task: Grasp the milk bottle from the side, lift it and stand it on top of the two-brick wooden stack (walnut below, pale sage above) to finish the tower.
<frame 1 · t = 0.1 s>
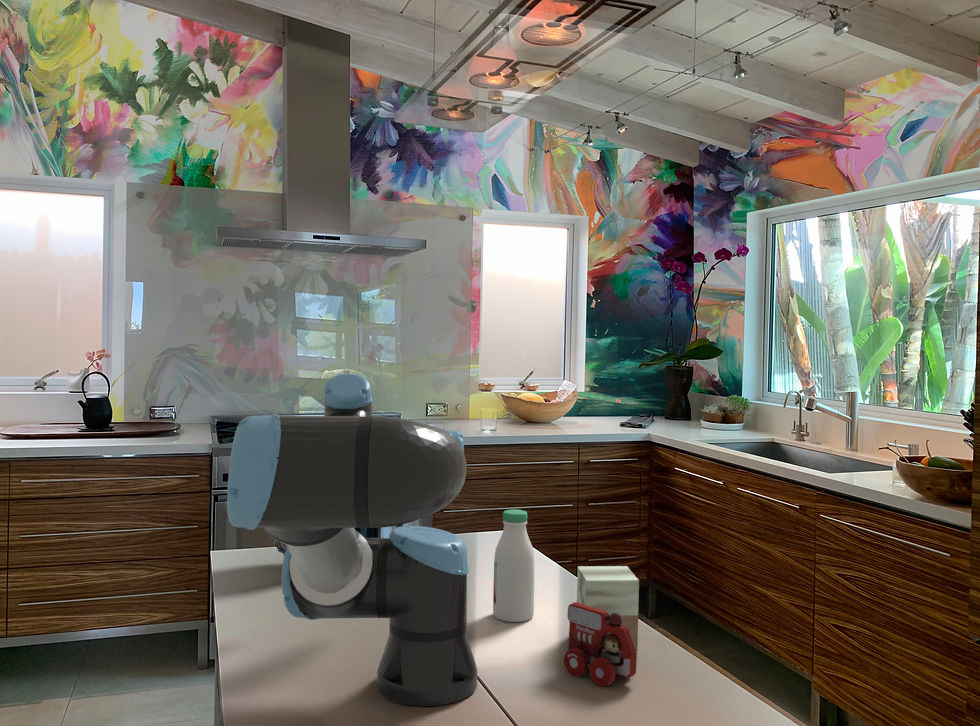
hand: (357, 537, 151), 15 cm above the table, tool tilted 35°, fingers open, 13 cm apart
tower stack: (605, 641, 143), on the table
milk bottle: (513, 617, 155), on the table
decorative vase: (309, 569, 184), on the table
toy fire truck: (599, 676, 128), on the table
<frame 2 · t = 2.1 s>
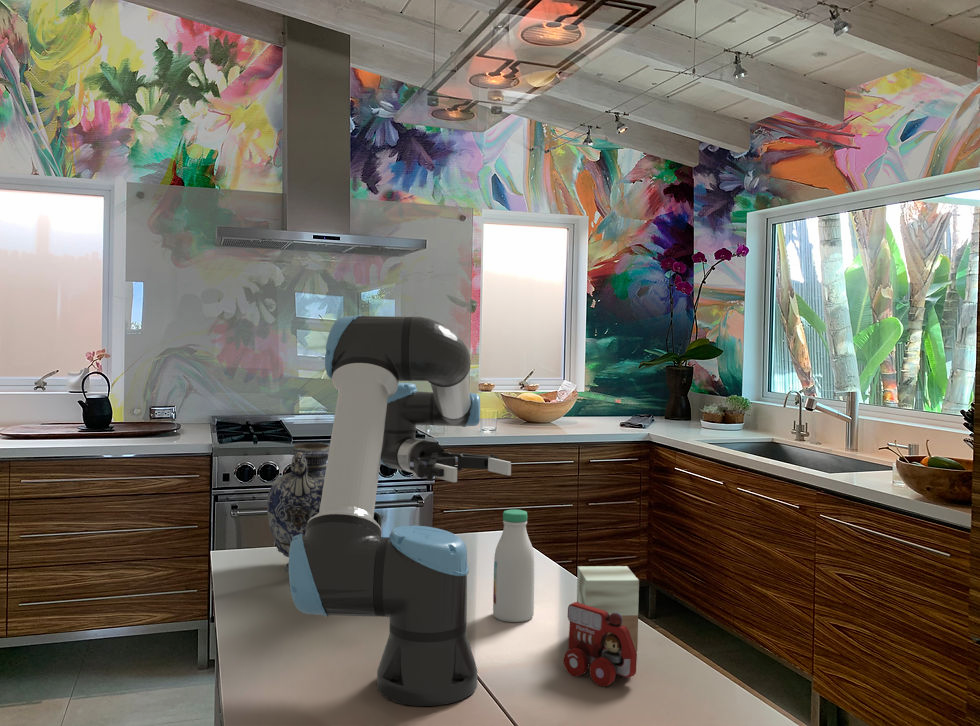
hand: (483, 471, 161), 26 cm above the table, tool horizontal, fingers open, 13 cm apart
nothing on the table moved.
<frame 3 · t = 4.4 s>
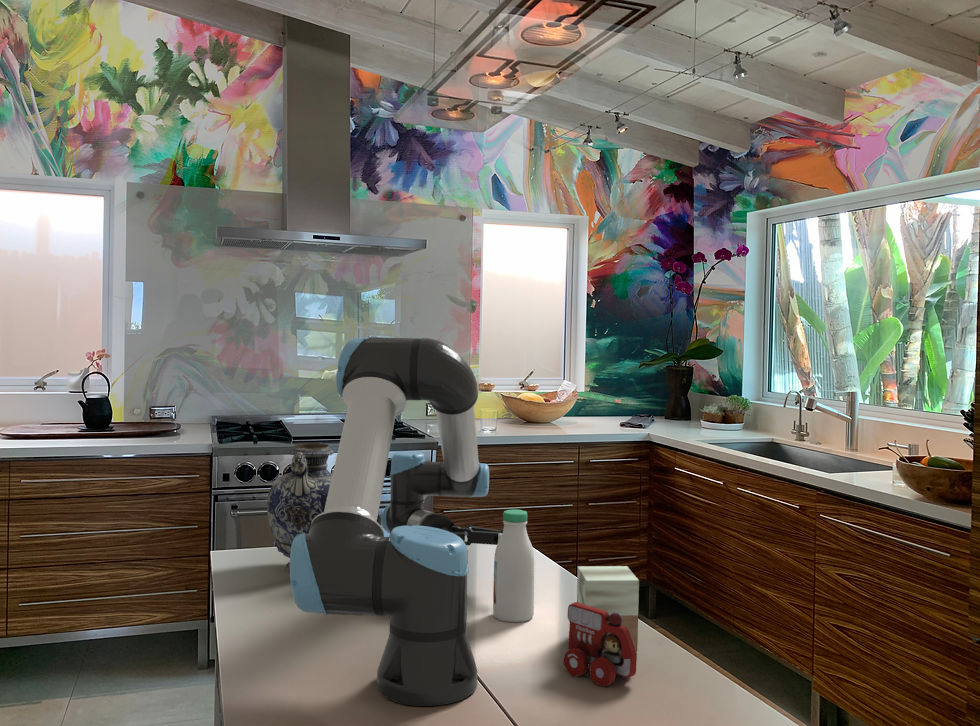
hand: (494, 551, 160), 11 cm above the table, tool horizontal, fingers open, 13 cm apart
nothing on the table moved.
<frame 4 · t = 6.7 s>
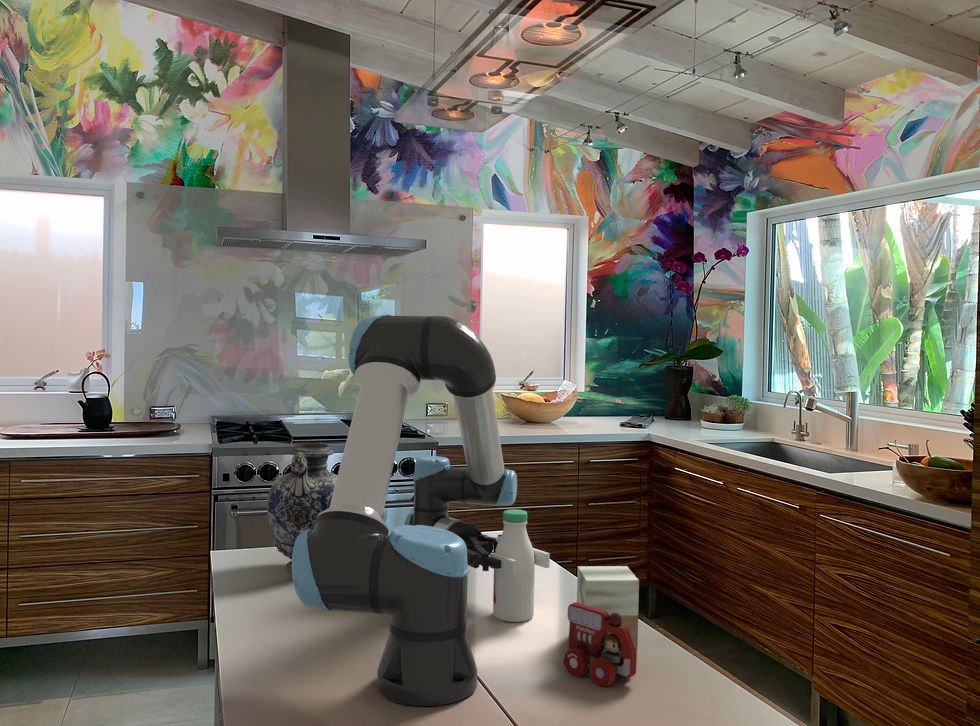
hand: (531, 564, 150), 11 cm above the table, tool horizontal, fingers closed on milk bottle, 8 cm apart
milk bottle: (513, 617, 155), on the table, touching gripper
everything else where it was.
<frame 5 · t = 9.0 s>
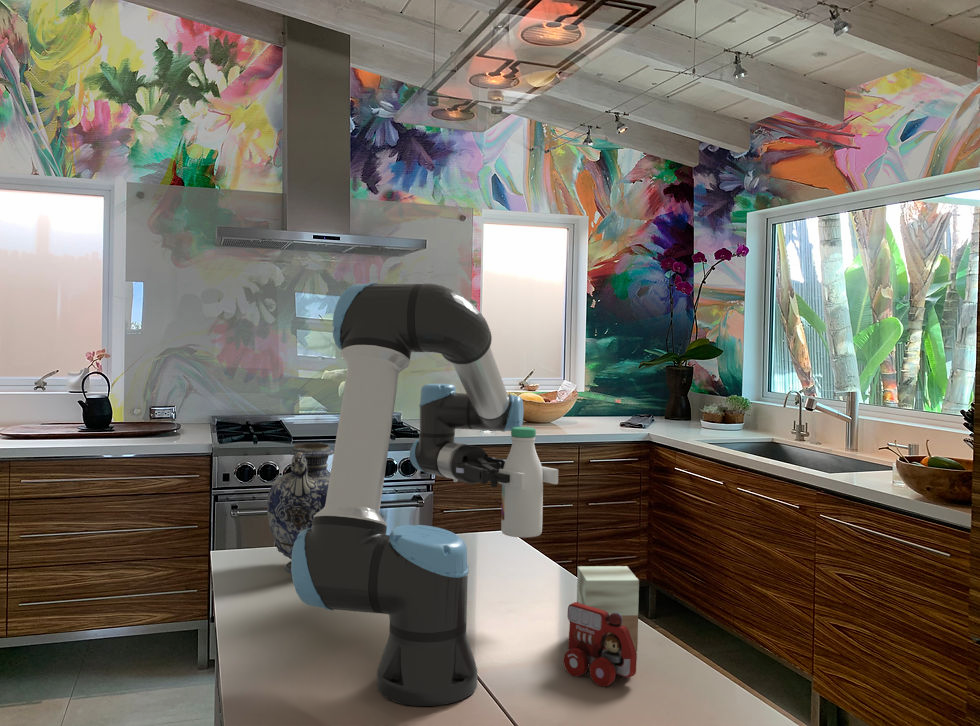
hand: (540, 479, 150), 27 cm above the table, tool horizontal, fingers closed on milk bottle, 8 cm apart
milk bottle: (521, 534, 154), point 16 cm above the table, touching gripper
everything else where it was.
when the fingers open (24 cm above the table, at t = 11.4 s): milk bottle stays where it is, resting on tower stack.
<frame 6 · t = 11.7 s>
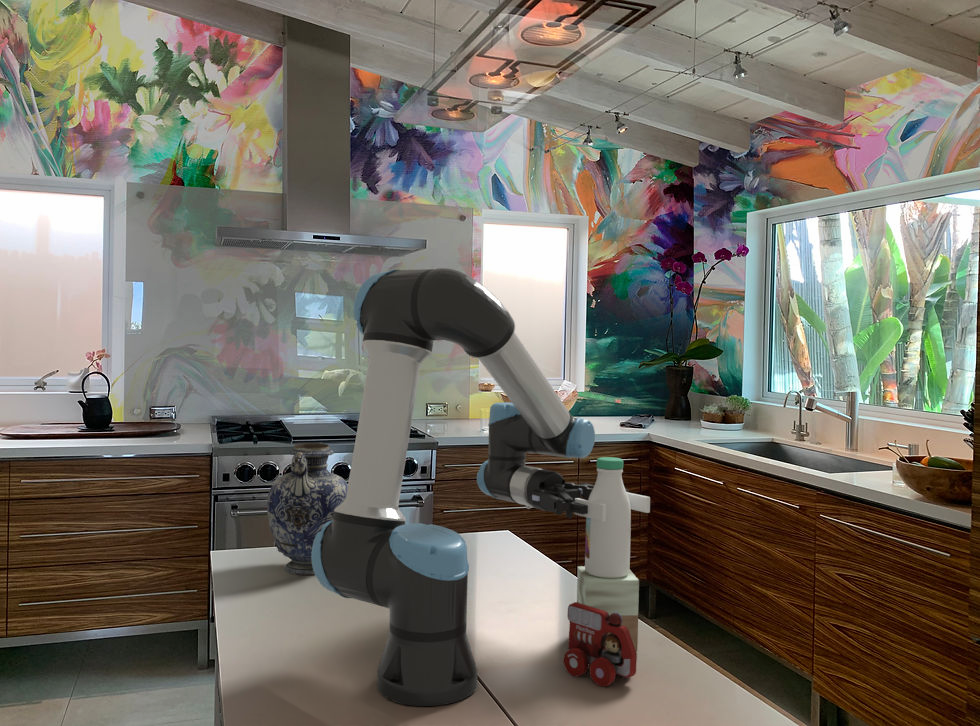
hand: (626, 508, 139), 24 cm above the table, tool horizontal, fingers open, 10 cm apart
milk bottle: (606, 574, 142), point 12 cm above the table, touching tower stack
everything else where it was.
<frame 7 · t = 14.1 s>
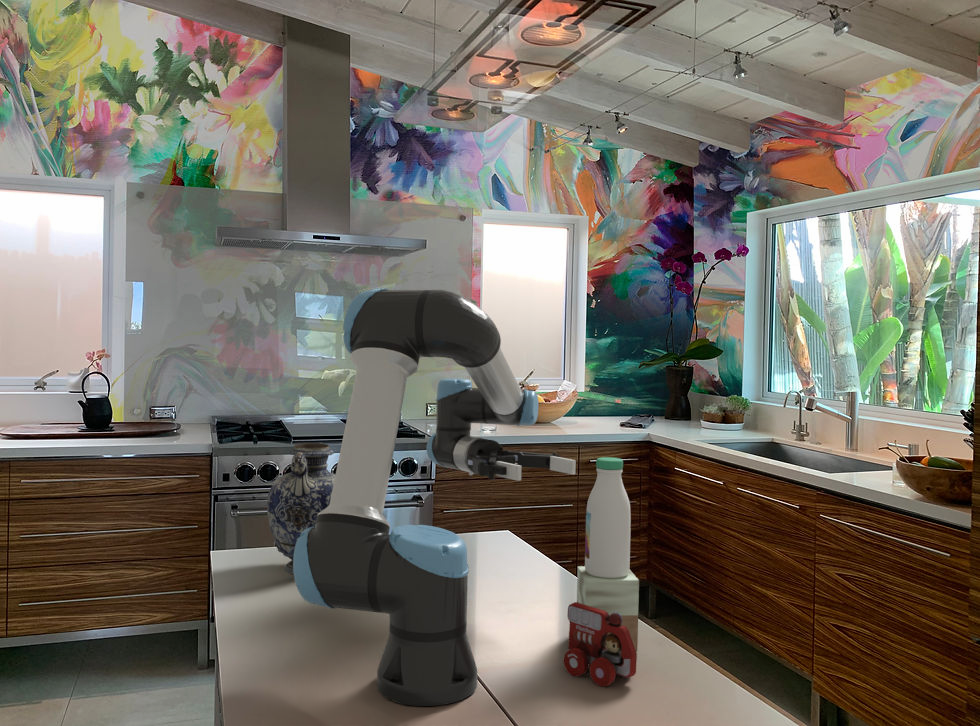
hand: (547, 470, 153), 28 cm above the table, tool horizontal, fingers open, 13 cm apart
nothing on the table moved.
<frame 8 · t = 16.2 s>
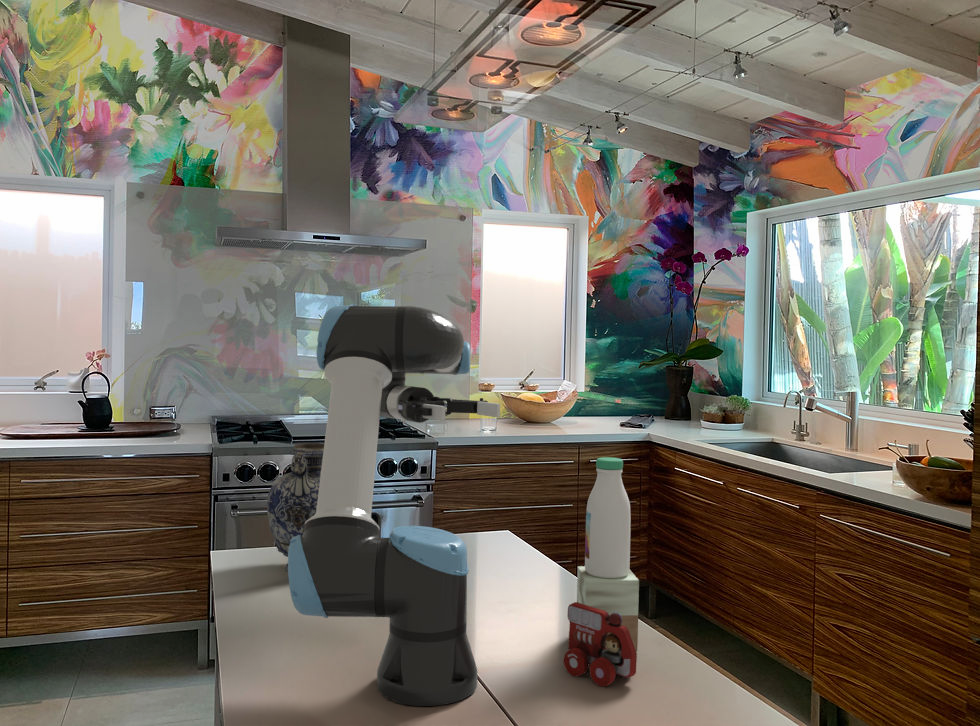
hand: (472, 412, 160), 38 cm above the table, tool horizontal, fingers open, 13 cm apart
nothing on the table moved.
at the end: milk bottle inside the target area on the tower stack (0.1 cm from its centre), point 11.8 cm above the tower stack's base; milk bottle tilted 0°; the gripper is holding nothing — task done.
